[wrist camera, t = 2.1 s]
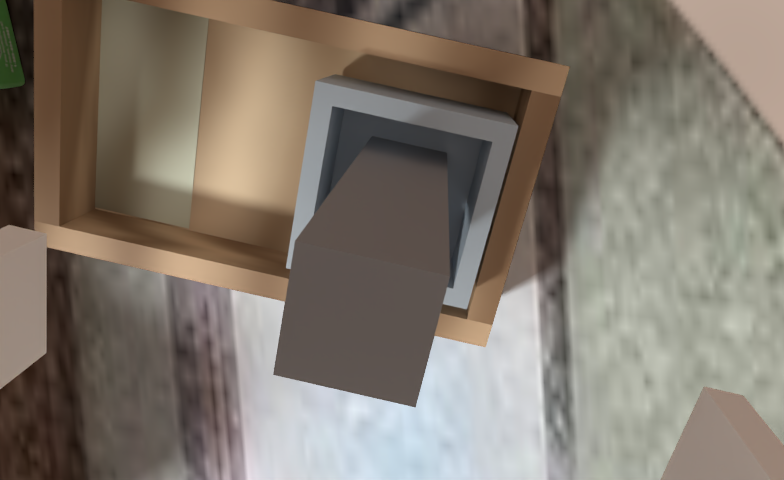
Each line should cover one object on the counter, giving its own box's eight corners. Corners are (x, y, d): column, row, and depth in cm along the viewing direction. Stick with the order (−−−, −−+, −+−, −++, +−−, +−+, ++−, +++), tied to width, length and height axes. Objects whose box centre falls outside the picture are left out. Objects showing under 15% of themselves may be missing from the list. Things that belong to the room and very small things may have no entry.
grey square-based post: (308, 235, 29) (174, 429, 15) (335, 74, 27) (205, 117, 12) (463, 270, 29) (483, 500, 15) (506, 112, 27) (582, 202, 12)
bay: (88, 217, 32) (34, 244, 28) (96, -39, 28) (33, -53, 23) (480, 306, 32) (485, 347, 28) (550, 62, 27) (570, 66, 23)
